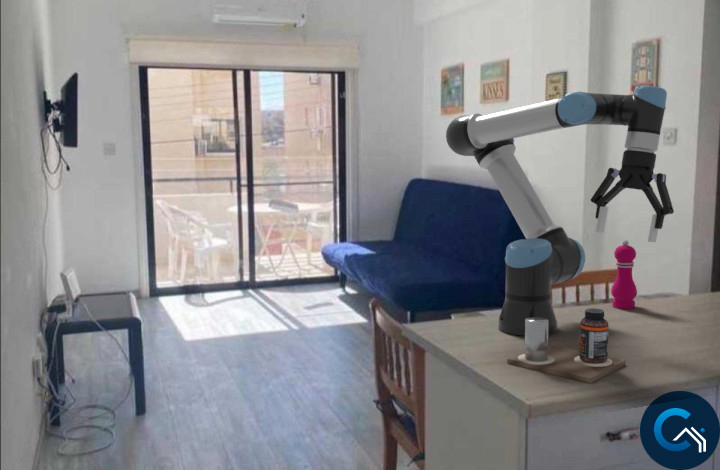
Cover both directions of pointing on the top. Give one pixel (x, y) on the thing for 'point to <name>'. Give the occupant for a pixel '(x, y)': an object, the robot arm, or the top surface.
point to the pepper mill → (624, 277)
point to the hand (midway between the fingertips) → (625, 237)
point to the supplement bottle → (594, 336)
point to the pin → (536, 339)
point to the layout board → (568, 364)
